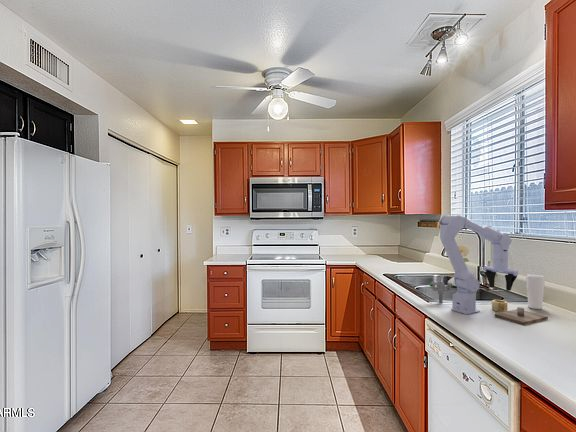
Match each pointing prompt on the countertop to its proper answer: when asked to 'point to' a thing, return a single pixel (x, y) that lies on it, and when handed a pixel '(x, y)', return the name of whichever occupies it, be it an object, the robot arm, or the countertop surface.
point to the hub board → (521, 316)
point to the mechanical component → (440, 289)
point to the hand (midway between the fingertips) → (500, 288)
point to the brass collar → (499, 305)
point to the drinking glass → (535, 290)
